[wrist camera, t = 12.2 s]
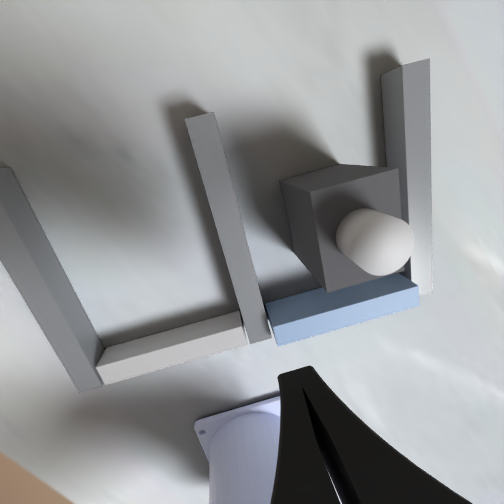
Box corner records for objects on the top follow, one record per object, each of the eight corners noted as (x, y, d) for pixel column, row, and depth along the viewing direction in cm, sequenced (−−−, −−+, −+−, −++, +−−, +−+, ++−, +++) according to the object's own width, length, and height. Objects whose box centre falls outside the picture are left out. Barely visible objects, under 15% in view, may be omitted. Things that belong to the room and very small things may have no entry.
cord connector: (349, 237, 20) (434, 288, 12) (294, 252, 19) (345, 314, 12) (339, 164, 18) (432, 170, 10) (279, 180, 18) (328, 199, 10)
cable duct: (413, 279, 21) (444, 298, 18) (92, 370, 20) (72, 405, 17) (404, 69, 16) (444, 51, 14) (-18, 174, 15) (-69, 178, 13)
